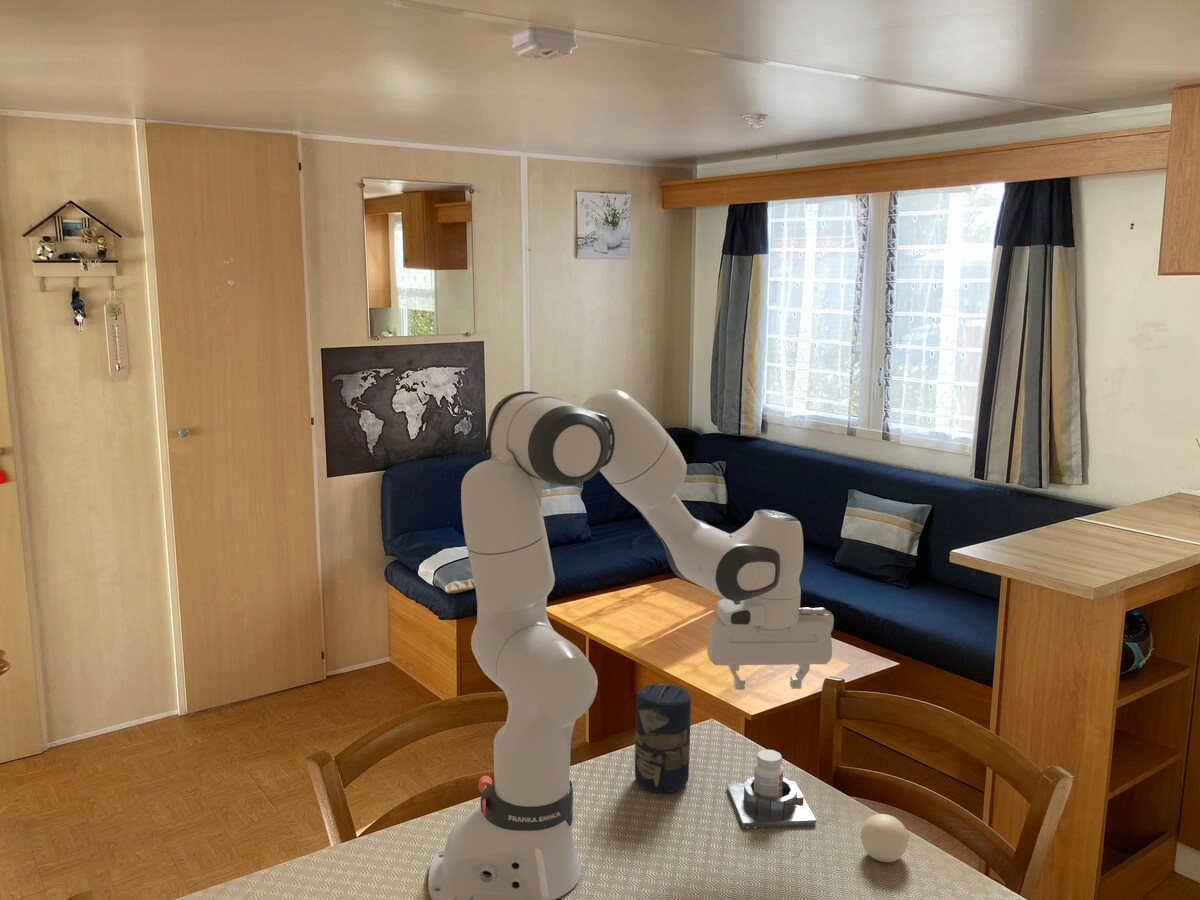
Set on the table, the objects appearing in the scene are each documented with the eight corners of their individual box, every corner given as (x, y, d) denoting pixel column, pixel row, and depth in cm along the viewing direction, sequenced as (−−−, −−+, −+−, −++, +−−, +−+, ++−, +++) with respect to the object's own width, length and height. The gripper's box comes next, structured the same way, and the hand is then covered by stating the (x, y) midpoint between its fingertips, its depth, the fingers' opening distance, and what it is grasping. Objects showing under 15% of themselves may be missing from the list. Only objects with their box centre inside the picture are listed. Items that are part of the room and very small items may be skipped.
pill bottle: (784, 809, 159) (786, 762, 158) (756, 809, 159) (758, 762, 158) (778, 793, 164) (780, 747, 163) (750, 794, 164) (752, 748, 162)
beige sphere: (917, 860, 148) (920, 821, 146) (884, 876, 144) (887, 835, 143) (883, 838, 153) (886, 800, 152) (850, 853, 150) (853, 813, 148)
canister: (624, 785, 168) (625, 689, 165) (652, 763, 176) (654, 670, 172) (671, 803, 163) (673, 704, 159) (698, 779, 171) (701, 684, 167)
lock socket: (742, 828, 156) (743, 809, 155) (727, 789, 167) (727, 770, 167) (815, 825, 157) (816, 805, 156) (794, 786, 168) (795, 767, 168)
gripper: (828, 601, 161) (823, 679, 163) (707, 601, 159) (703, 680, 161) (840, 614, 154) (835, 695, 157) (714, 615, 153) (710, 697, 155)
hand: (767, 688), depth 159 cm, fingers open, 8 cm apart
